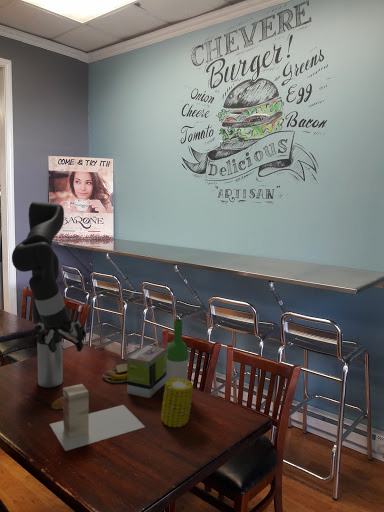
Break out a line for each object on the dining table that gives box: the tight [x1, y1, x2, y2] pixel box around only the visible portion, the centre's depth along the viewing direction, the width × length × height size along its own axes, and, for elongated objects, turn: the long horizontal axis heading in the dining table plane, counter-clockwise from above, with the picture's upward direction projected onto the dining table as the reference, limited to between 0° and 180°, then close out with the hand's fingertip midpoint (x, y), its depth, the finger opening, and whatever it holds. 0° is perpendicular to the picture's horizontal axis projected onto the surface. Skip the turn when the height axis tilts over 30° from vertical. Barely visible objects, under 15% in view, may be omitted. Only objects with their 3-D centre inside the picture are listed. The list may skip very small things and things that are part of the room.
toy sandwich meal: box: [102, 362, 127, 384], centre depth 178 cm, size 12×14×5 cm
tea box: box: [126, 344, 168, 399], centre depth 168 cm, size 15×10×15 cm, turn 157°
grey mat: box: [49, 404, 146, 452], centre depth 141 cm, size 17×26×1 cm, turn 123°
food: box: [160, 378, 194, 428], centre depth 144 cm, size 15×12×10 cm
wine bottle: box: [166, 318, 189, 382], centre depth 161 cm, size 8×8×30 cm
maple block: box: [62, 383, 90, 439], centre depth 136 cm, size 6×6×14 cm
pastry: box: [51, 395, 63, 410], centre depth 153 cm, size 9×7×4 cm
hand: (67, 350), depth 132 cm, fingers open, 8 cm apart
